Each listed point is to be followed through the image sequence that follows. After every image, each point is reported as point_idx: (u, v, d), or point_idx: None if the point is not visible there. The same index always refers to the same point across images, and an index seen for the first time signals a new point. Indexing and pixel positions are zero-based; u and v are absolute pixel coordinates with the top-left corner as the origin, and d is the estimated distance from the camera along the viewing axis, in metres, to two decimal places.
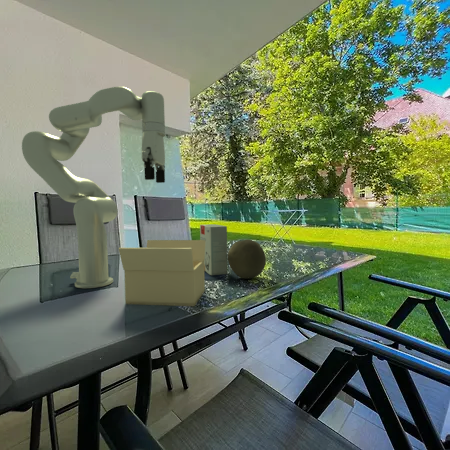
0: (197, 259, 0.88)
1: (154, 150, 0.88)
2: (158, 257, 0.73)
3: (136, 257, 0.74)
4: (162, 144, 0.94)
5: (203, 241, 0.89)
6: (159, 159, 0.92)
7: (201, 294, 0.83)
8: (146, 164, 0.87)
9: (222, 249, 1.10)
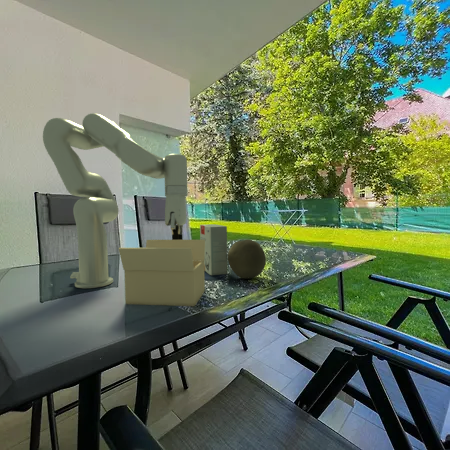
0: (197, 259, 0.88)
1: (178, 215, 0.87)
2: (158, 257, 0.73)
3: (136, 257, 0.74)
4: (184, 204, 0.93)
5: (203, 241, 0.89)
6: (182, 221, 0.91)
7: (201, 294, 0.83)
8: (174, 232, 0.90)
9: (222, 249, 1.10)
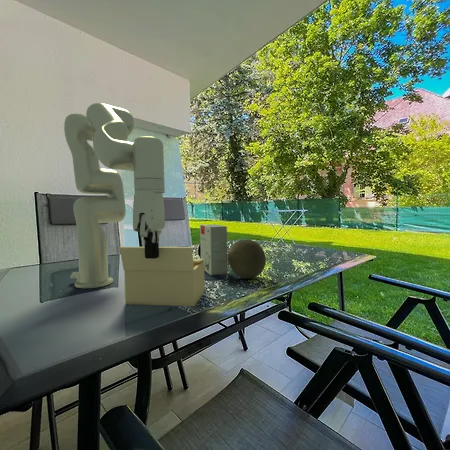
0: None
1: (149, 217, 0.65)
2: None
3: (137, 256, 0.74)
4: (161, 204, 0.71)
5: None
6: (157, 226, 0.69)
7: (201, 294, 0.83)
8: (147, 241, 0.68)
9: (222, 249, 1.10)
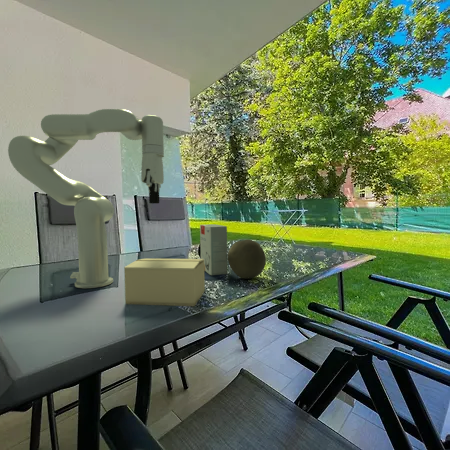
0: None
1: (153, 171, 0.93)
2: (166, 263, 0.79)
3: (145, 263, 0.79)
4: (161, 164, 0.99)
5: None
6: (158, 179, 0.97)
7: (201, 294, 0.83)
8: (151, 190, 0.96)
9: (222, 249, 1.10)
